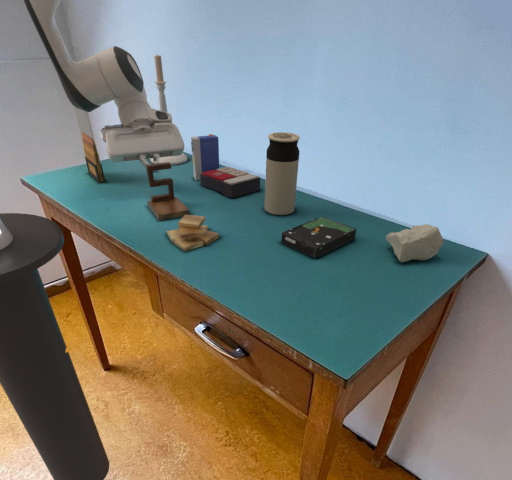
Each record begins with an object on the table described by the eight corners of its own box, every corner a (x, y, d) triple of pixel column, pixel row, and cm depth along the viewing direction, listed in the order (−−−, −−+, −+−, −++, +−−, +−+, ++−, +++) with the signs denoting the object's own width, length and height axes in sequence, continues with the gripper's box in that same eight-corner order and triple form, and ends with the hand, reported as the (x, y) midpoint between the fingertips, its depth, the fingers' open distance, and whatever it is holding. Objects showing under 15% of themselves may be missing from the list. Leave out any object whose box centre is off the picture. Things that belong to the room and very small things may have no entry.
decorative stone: (409, 232, 93) (442, 208, 84) (422, 268, 91) (457, 247, 82) (372, 235, 89) (402, 210, 80) (386, 273, 87) (418, 251, 78)
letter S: (158, 220, 98) (152, 177, 91) (148, 206, 105) (141, 165, 98) (189, 215, 101) (185, 172, 94) (177, 202, 108) (172, 161, 101)
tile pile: (185, 252, 86) (183, 235, 83) (161, 235, 92) (159, 218, 89) (224, 239, 91) (223, 223, 88) (199, 224, 97) (198, 208, 95)
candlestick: (193, 157, 141) (186, 53, 122) (175, 167, 132) (164, 56, 112) (162, 152, 144) (150, 51, 125) (142, 162, 135) (126, 53, 116)
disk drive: (315, 260, 85) (355, 239, 93) (316, 248, 83) (357, 228, 91) (280, 243, 90) (320, 225, 98) (280, 232, 89) (322, 214, 97)
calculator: (228, 165, 123) (260, 174, 114) (228, 179, 125) (260, 190, 116) (199, 171, 117) (231, 182, 108) (200, 186, 119) (232, 198, 111)
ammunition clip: (88, 173, 125) (78, 131, 117) (94, 172, 125) (84, 130, 118) (99, 183, 118) (89, 139, 110) (105, 182, 119) (96, 138, 111)
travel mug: (268, 216, 102) (271, 140, 90) (261, 205, 108) (263, 132, 96) (297, 215, 103) (305, 139, 92) (289, 203, 109) (295, 131, 98)
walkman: (216, 175, 126) (215, 133, 119) (219, 177, 125) (218, 135, 117) (193, 177, 124) (189, 135, 116) (195, 180, 122) (192, 137, 114)
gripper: (97, 118, 99) (114, 170, 99) (176, 113, 106) (192, 161, 106) (98, 134, 105) (114, 183, 105) (173, 127, 112) (187, 173, 112)
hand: (153, 172), depth 105 cm, fingers closed
